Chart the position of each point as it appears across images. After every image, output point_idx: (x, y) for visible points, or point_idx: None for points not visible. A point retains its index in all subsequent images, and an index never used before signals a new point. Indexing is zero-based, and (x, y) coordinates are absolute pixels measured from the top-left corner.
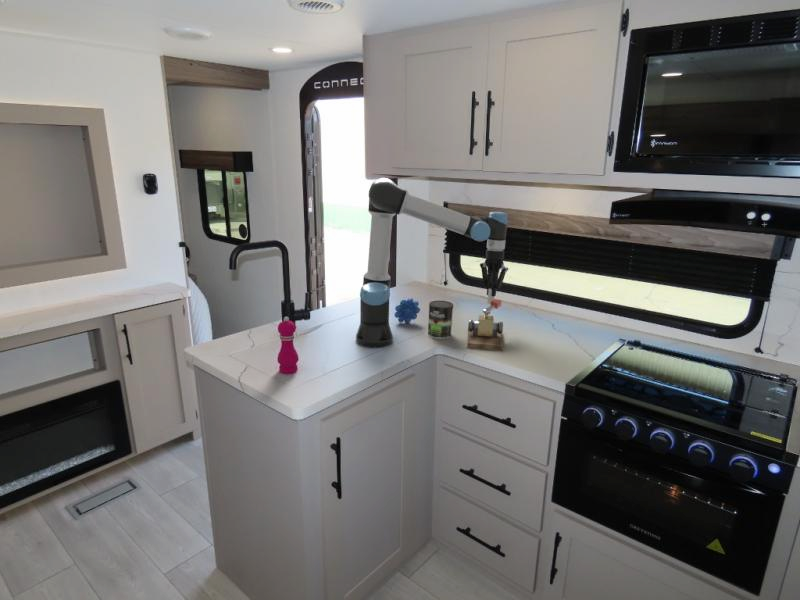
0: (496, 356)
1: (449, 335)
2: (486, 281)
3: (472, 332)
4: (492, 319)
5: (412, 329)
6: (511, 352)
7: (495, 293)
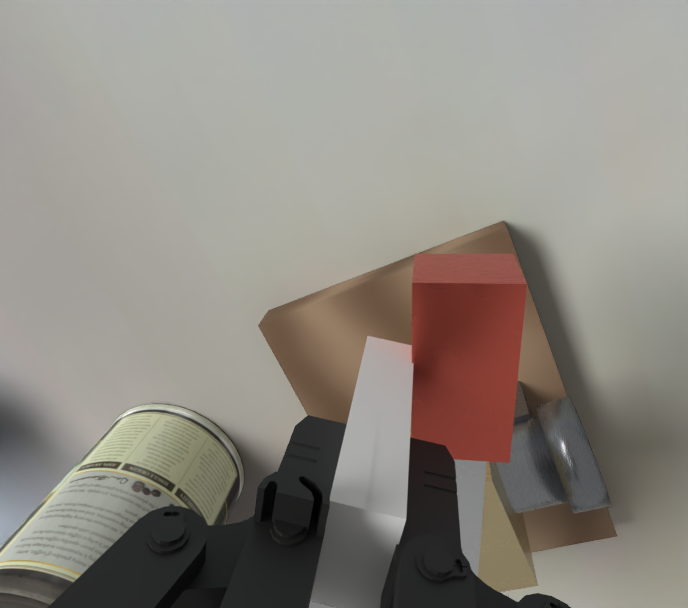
0: (592, 588)
1: (238, 484)
2: (112, 604)
3: (343, 418)
4: (518, 565)
5: (15, 458)
6: (672, 511)
7: (452, 500)
